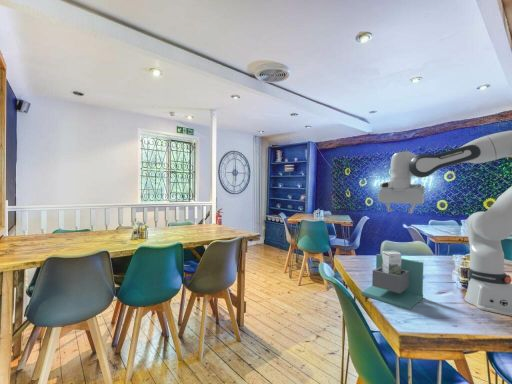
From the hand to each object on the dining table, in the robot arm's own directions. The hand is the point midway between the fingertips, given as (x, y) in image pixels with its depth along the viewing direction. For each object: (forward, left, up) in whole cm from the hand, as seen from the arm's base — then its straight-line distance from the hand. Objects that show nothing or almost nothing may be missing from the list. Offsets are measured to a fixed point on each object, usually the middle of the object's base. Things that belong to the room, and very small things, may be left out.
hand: (399, 212), depth 131 cm
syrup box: (-2, +16, -31) cm, 35 cm away
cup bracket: (-2, +14, -37) cm, 40 cm away
